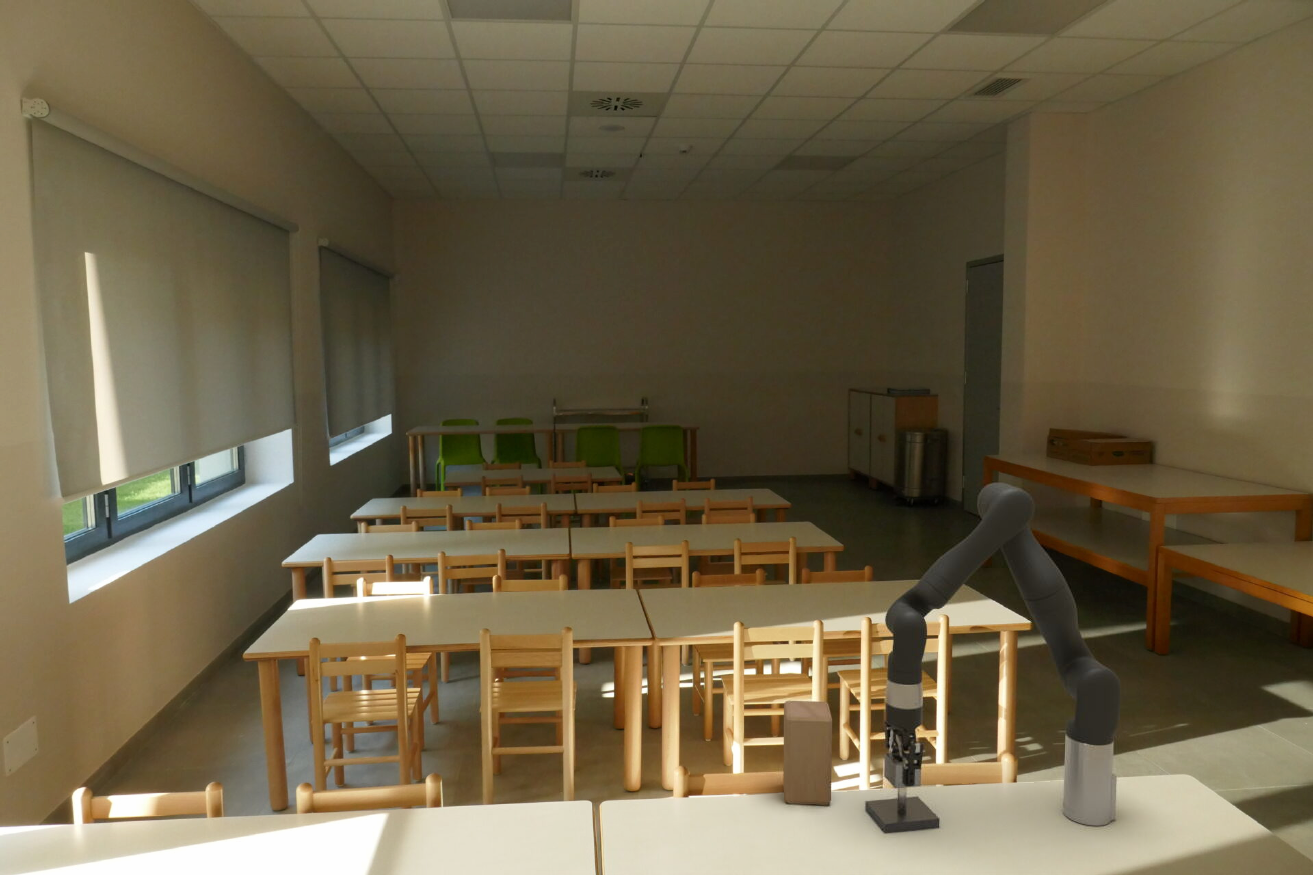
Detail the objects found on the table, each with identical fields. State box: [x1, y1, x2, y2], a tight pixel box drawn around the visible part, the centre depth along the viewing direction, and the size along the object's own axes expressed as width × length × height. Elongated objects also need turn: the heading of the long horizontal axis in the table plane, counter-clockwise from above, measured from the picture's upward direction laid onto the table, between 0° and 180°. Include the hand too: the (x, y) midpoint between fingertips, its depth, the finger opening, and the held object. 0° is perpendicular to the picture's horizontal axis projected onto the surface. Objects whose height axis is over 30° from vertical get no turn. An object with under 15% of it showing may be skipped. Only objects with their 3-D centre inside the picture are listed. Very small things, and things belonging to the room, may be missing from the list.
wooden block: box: [782, 700, 833, 806], centre depth 207 cm, size 10×10×20 cm
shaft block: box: [864, 787, 941, 834], centre depth 196 cm, size 12×10×9 cm
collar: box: [883, 751, 922, 789], centre depth 196 cm, size 6×6×5 cm
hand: (902, 778), depth 196 cm, fingers closed on collar, 5 cm apart
